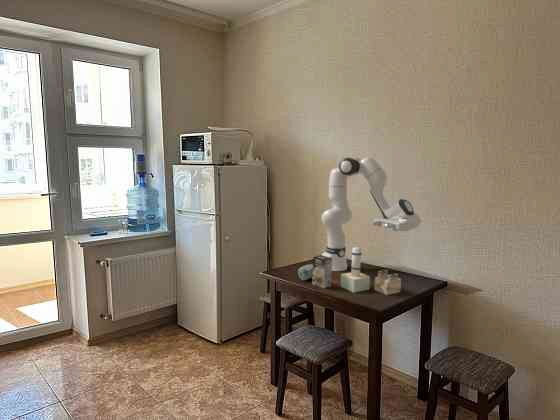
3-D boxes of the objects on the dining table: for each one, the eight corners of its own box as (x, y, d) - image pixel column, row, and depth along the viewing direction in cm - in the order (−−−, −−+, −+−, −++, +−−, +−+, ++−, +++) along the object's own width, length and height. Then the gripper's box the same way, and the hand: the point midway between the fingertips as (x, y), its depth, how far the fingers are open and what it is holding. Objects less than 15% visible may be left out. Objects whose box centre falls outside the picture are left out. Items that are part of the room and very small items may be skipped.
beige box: (340, 286, 213) (340, 274, 212) (355, 283, 218) (356, 271, 218) (353, 292, 204) (354, 279, 203) (369, 289, 209) (370, 276, 208)
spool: (306, 278, 217) (304, 260, 221) (295, 282, 223) (293, 265, 227) (323, 279, 225) (321, 262, 229) (312, 283, 232) (309, 267, 236)
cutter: (328, 284, 217) (328, 281, 216) (333, 282, 221) (333, 279, 221) (350, 289, 208) (350, 287, 207) (355, 287, 212) (355, 284, 212)
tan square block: (374, 289, 208) (375, 271, 207) (387, 287, 213) (388, 269, 212) (386, 295, 200) (387, 276, 199) (400, 291, 205) (401, 273, 204)
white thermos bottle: (348, 274, 211) (350, 247, 209) (355, 273, 214) (357, 246, 212) (355, 277, 207) (356, 249, 205) (362, 276, 209) (363, 248, 207)
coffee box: (311, 284, 216) (312, 256, 214) (319, 282, 220) (320, 254, 218) (323, 288, 209) (324, 259, 207) (331, 286, 213) (332, 257, 211)
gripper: (384, 215, 228) (366, 216, 221) (411, 220, 210) (393, 221, 203) (383, 225, 228) (366, 227, 221) (411, 231, 211) (393, 233, 204)
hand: (379, 224), depth 212 cm, fingers open, 8 cm apart
